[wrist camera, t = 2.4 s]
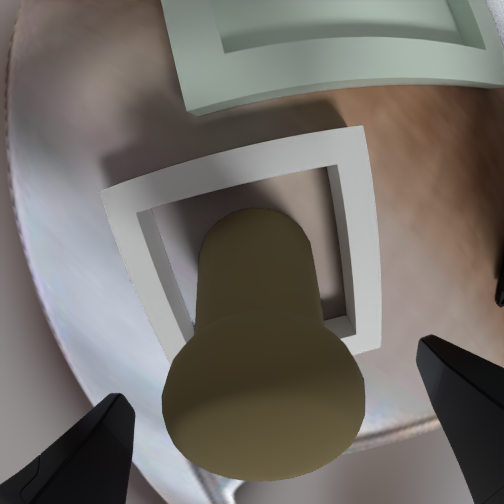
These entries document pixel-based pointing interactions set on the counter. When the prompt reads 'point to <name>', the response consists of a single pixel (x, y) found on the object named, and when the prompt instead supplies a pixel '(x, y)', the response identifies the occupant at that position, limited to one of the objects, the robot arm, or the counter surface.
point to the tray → (327, 47)
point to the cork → (261, 359)
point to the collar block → (244, 171)
